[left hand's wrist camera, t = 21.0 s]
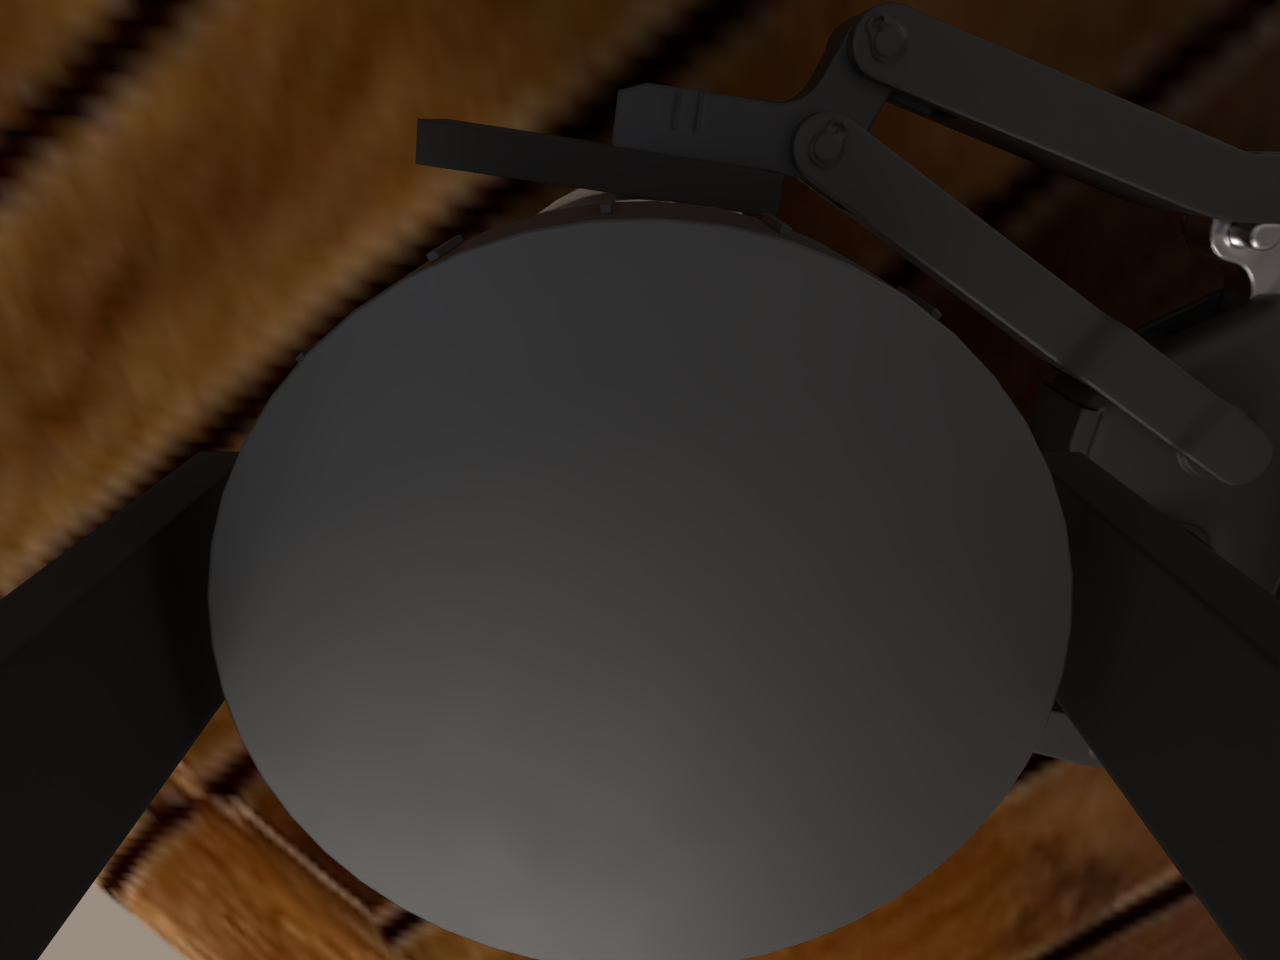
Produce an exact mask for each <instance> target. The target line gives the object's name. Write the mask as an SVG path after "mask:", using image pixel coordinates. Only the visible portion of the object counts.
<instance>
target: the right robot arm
mask: <svg viewBox="0 0 1280 960" xmlns="http://www.w3.org/2000/svg"><path fill="white" fill-rule="evenodd" d="M885 102H889V103H891V104H894V105H896V106H899V107H901V108H903V109H906V110H908V111H911V112H913V113H915V114H918V115H920V116H923V117H925V118H928V119H930V120H932V121H935V122H937V123H940V124H942V125H944V126H947V127H949V128H952V129H954V130H957V131H959V132H961V133H964V134H966V135H969V136H971V137H974V138H976V139H978V140H981V141H983V142H986V143H988V144H990V145H993V146H995V147H998V148H1000V149H1003V150H1005V151H1007V152H1010V153H1012V154H1015V155H1017V156H1019V157H1022V158H1024V159H1027V160H1029V161H1032V162H1034V163H1036V164H1039V165H1041V166H1044V167H1046V168H1049V169H1051V170H1053V171H1056V172H1058V173H1061V174H1063V175H1065V176H1068V177H1070V178H1073V179H1075V180H1078V181H1080V182H1082V183H1085V184H1087V185H1090V186H1092V187H1094V188H1097V189H1099V190H1102V191H1104V192H1107V193H1109V194H1111V195H1114V196H1116V197H1119V198H1121V199H1124V200H1126V201H1129V202H1132V203H1135V204H1138V205H1141V206H1145V207H1150V208H1155V209H1160V210H1165V211H1171V212H1177V213H1183V214H1184V215H1183V217H1182V220H1181V223H1180V229H1181V230H1182V232H1183V234H1184V235H1185V240H1186V243H1187V245H1188V246H1189V248H1190V249H1191V250H1192V251H1194V252H1195V253H1196V254H1199V255H1202V256H1206V257H1209V258H1212V259H1213V260H1215V261H1216V262H1217V263H1219V265H1220V266H1221V268H1222V270H1223V273H1224V278H1225V280H1224V288H1222V289H1219V290H1216V291H1214V292H1212V293H1209V294H1207V295H1205V296H1203V297H1201V298H1199V299H1197V300H1195V301H1193V302H1190V303H1188V304H1186V305H1184V306H1182V307H1180V308H1178V309H1176V310H1173V311H1171V312H1169V313H1167V314H1165V315H1163V316H1161V317H1159V318H1156V319H1154V320H1152V321H1150V322H1148V323H1146V324H1144V325H1142V326H1140V327H1137V328H1135V329H1133V330H1131V329H1129V328H1128V327H1126V326H1125V325H1123V324H1122V323H1120V322H1118V321H1117V320H1115V319H1113V318H1112V317H1110V316H1108V315H1107V314H1105V313H1104V312H1102V311H1101V310H1099V309H1098V308H1097V307H1095V306H1094V305H1093V304H1091V303H1090V302H1089V301H1087V300H1086V299H1085V298H1083V297H1082V296H1081V295H1080V294H1078V293H1077V292H1076V291H1074V290H1073V289H1072V288H1070V287H1069V286H1068V285H1067V284H1065V283H1064V282H1063V281H1061V280H1060V279H1059V278H1057V277H1056V276H1055V275H1054V274H1052V273H1051V272H1050V271H1048V270H1047V269H1046V268H1044V267H1043V266H1042V265H1040V264H1039V263H1038V262H1037V261H1035V260H1034V259H1033V258H1031V257H1030V256H1029V255H1027V254H1026V253H1025V252H1024V251H1022V250H1021V249H1020V248H1018V247H1017V246H1016V245H1014V244H1013V243H1012V242H1011V241H1009V240H1008V239H1007V238H1005V237H1004V236H1003V235H1001V234H1000V233H999V232H998V231H996V230H995V229H994V228H992V227H991V226H990V225H988V224H987V223H986V222H984V221H983V220H982V219H981V218H979V217H978V216H977V215H975V214H974V213H973V212H971V211H970V210H969V209H968V208H966V207H965V206H964V205H962V204H961V203H960V202H958V201H957V200H956V199H955V198H953V197H952V196H951V195H949V194H948V193H947V192H945V191H944V190H943V189H942V188H940V187H939V186H938V185H936V184H935V183H934V182H932V181H931V180H930V179H928V178H927V177H926V176H925V175H923V174H922V173H921V172H919V171H918V170H917V169H915V168H914V167H913V166H912V165H910V164H909V163H908V162H906V161H905V160H904V159H902V158H901V157H900V156H899V155H897V154H896V153H895V152H893V151H892V150H891V149H889V148H888V147H887V146H886V145H884V144H883V143H882V142H880V141H879V140H878V139H876V138H875V137H874V136H872V135H871V134H870V133H869V132H868V131H869V129H870V127H871V125H872V124H873V122H874V120H875V119H876V117H877V115H878V113H879V112H880V110H881V108H882V107H883V105H884V103H885ZM416 164H420V165H427V166H433V167H440V168H447V169H453V170H460V171H467V172H473V173H480V174H487V175H493V176H500V177H507V178H514V179H520V180H527V181H534V182H540V183H547V184H554V185H560V186H567V187H574V188H580V189H587V190H594V191H600V192H607V193H614V194H620V195H627V196H634V197H641V198H647V199H654V200H661V201H669V202H675V203H682V204H692V205H701V206H710V207H715V208H719V209H723V210H727V211H734V212H741V213H748V214H754V215H761V216H763V215H764V213H765V212H766V213H769V214H772V215H774V216H775V217H777V212H778V207H779V202H780V196H781V191H782V186H783V181H784V176H788V177H795V178H797V179H798V180H800V181H801V182H803V183H804V184H805V185H807V186H808V187H809V188H811V189H812V190H813V191H815V192H816V193H817V194H819V195H820V196H821V197H823V198H824V199H826V200H827V201H828V202H830V203H831V204H832V205H834V206H835V207H836V208H838V209H839V210H840V211H842V212H843V213H844V214H846V215H847V216H849V217H850V218H851V219H853V220H854V221H855V222H857V223H858V224H859V225H861V226H862V227H863V228H865V229H866V230H867V231H869V232H870V233H872V234H873V235H874V236H876V237H877V238H878V239H880V240H881V241H882V242H884V243H885V244H886V245H888V246H889V247H890V248H892V249H893V250H895V251H896V252H897V253H899V254H900V255H901V256H903V257H904V258H905V259H907V260H908V261H909V262H911V263H912V264H914V265H915V266H916V267H918V268H919V269H920V270H922V271H923V272H924V273H926V274H927V275H928V276H930V277H931V278H932V279H934V280H935V281H937V282H938V283H939V284H941V285H942V286H943V287H945V288H946V289H947V290H949V291H950V292H951V293H953V294H954V295H955V296H957V297H958V298H960V299H961V300H962V301H964V302H965V303H966V304H968V305H969V306H970V307H972V308H973V309H974V310H976V311H977V312H978V313H980V314H981V315H983V316H984V317H985V318H987V319H988V320H989V321H991V322H992V323H993V324H995V325H996V326H997V327H999V328H1000V329H1001V330H1003V331H1004V332H1006V333H1007V334H1008V335H1009V336H1011V338H1012V339H1014V340H1015V341H1016V342H1017V343H1019V344H1020V345H1021V346H1023V347H1024V348H1025V349H1027V350H1028V351H1029V352H1031V353H1032V354H1033V355H1035V356H1036V357H1038V358H1039V359H1040V360H1042V361H1043V362H1044V363H1046V364H1047V365H1048V366H1050V367H1051V368H1052V369H1054V370H1055V371H1056V372H1058V373H1059V374H1058V375H1057V376H1056V377H1055V379H1054V380H1053V382H1052V383H1046V382H1041V383H1040V386H1039V389H1038V392H1037V396H1036V399H1035V402H1034V405H1033V408H1032V411H1031V416H1030V430H1031V432H1032V434H1033V436H1034V438H1035V440H1036V443H1037V445H1038V447H1039V449H1040V451H1041V452H1081V453H1083V454H1084V455H1085V456H1087V457H1088V458H1089V459H1091V460H1092V461H1093V462H1095V463H1096V464H1098V465H1099V466H1100V467H1102V468H1103V469H1104V470H1106V471H1107V472H1108V473H1110V474H1111V475H1112V476H1114V477H1115V478H1116V479H1118V480H1119V481H1120V482H1122V483H1123V484H1124V485H1126V486H1127V487H1128V488H1130V489H1131V490H1132V491H1134V492H1135V493H1136V494H1138V495H1139V496H1140V497H1142V498H1143V499H1144V500H1146V501H1147V502H1148V503H1150V504H1151V505H1152V506H1154V507H1155V508H1156V509H1158V510H1159V511H1161V512H1162V513H1163V514H1165V515H1166V516H1167V517H1169V518H1170V519H1171V520H1173V521H1174V522H1175V523H1177V524H1178V525H1179V526H1181V527H1182V528H1183V529H1185V530H1186V531H1187V532H1189V533H1190V534H1191V535H1193V536H1194V537H1195V538H1197V539H1198V540H1199V541H1201V542H1202V543H1203V544H1205V545H1206V546H1207V547H1209V548H1210V549H1211V550H1213V551H1214V552H1215V553H1217V554H1218V555H1219V556H1221V557H1222V558H1224V559H1225V560H1226V561H1228V562H1229V563H1230V564H1232V565H1233V566H1234V567H1236V568H1237V569H1238V570H1240V571H1241V572H1242V573H1244V574H1245V575H1246V576H1248V577H1249V578H1250V579H1252V580H1253V581H1254V582H1256V583H1257V584H1258V585H1260V586H1261V587H1262V588H1264V589H1265V590H1266V591H1268V592H1269V593H1270V594H1272V595H1273V596H1274V597H1276V598H1277V599H1278V600H1280V151H1261V150H1241V149H1239V148H1236V147H1234V146H1232V145H1229V144H1227V143H1225V142H1222V141H1220V140H1218V139H1215V138H1213V137H1211V136H1208V135H1206V134H1204V133H1201V132H1199V131H1197V130H1194V129H1192V128H1190V127H1187V126H1185V125H1183V124H1180V123H1178V122H1176V121H1173V120H1171V119H1169V118H1167V117H1164V116H1162V115H1160V114H1157V113H1155V112H1153V111H1150V110H1148V109H1146V108H1143V107H1141V106H1139V105H1136V104H1134V103H1132V102H1129V101H1127V100H1125V99H1122V98H1120V97H1118V96H1115V95H1113V94H1111V93H1108V92H1106V91H1104V90H1101V89H1099V88H1097V87H1094V86H1092V85H1090V84H1087V83H1085V82H1083V81H1080V80H1078V79H1076V78H1073V77H1071V76H1069V75H1066V74H1064V73H1062V72H1059V71H1057V70H1055V69H1052V68H1050V67H1048V66H1045V65H1043V64H1041V63H1038V62H1036V61H1034V60H1032V59H1029V58H1027V57H1025V56H1022V55H1020V54H1018V53H1015V52H1013V51H1011V50H1008V49H1006V48H1004V47H1001V46H999V45H997V44H994V43H992V42H990V41H987V40H985V39H983V38H980V37H978V36H976V35H973V34H971V33H969V32H966V31H964V30H962V29H959V28H957V27H955V26H952V25H950V24H948V23H945V22H943V21H941V20H938V19H936V18H934V17H931V16H929V15H927V14H924V13H922V12H920V11H917V10H915V9H913V8H910V7H908V6H906V5H903V4H898V3H892V2H888V3H884V4H881V5H877V6H874V7H872V8H870V9H868V10H866V11H864V12H862V13H860V14H858V15H856V16H854V17H852V18H850V19H848V20H846V21H845V22H843V23H842V24H841V25H839V26H838V27H837V28H836V29H835V30H834V32H833V33H832V35H831V36H830V38H829V40H828V43H827V48H826V51H825V53H824V55H823V57H822V59H821V60H820V62H819V64H818V66H817V68H816V69H815V71H814V73H813V75H812V77H811V78H810V80H809V82H808V83H807V85H806V86H805V87H804V89H803V90H802V91H801V92H800V93H799V94H798V95H796V96H795V97H794V98H792V99H790V100H788V101H786V102H783V103H775V102H768V101H762V100H755V99H749V98H743V97H736V96H730V95H723V94H717V93H711V92H704V91H698V90H692V89H685V88H678V87H672V86H666V85H660V84H653V83H644V84H641V85H637V86H633V87H629V88H625V89H622V90H618V96H617V104H616V113H615V121H614V129H613V137H612V144H608V143H601V142H594V141H588V140H581V139H575V138H568V137H562V136H555V135H549V134H542V133H535V132H529V131H522V130H516V129H509V128H503V127H496V126H490V125H483V124H476V123H470V122H463V121H457V120H450V119H418V124H417V145H416ZM1033 752H1034V753H1038V754H1042V755H1046V756H1050V757H1054V758H1058V759H1062V760H1066V761H1070V762H1074V763H1078V764H1082V765H1086V766H1091V767H1095V768H1104V767H1103V765H1102V764H1101V763H1100V761H1099V760H1098V758H1097V757H1096V756H1095V754H1094V753H1093V751H1092V750H1091V749H1090V747H1089V746H1088V744H1087V743H1086V742H1085V740H1084V739H1083V738H1082V736H1081V735H1080V733H1079V732H1078V731H1077V729H1076V728H1075V726H1074V725H1073V724H1072V722H1071V721H1070V719H1069V718H1068V717H1067V715H1066V714H1065V713H1064V711H1063V710H1062V708H1061V707H1060V706H1059V704H1058V703H1057V701H1056V700H1055V702H1054V705H1053V708H1052V711H1051V714H1050V717H1049V720H1048V722H1047V724H1046V726H1045V728H1044V730H1043V732H1042V734H1041V736H1040V738H1039V740H1038V742H1037V744H1036V747H1035V749H1034V751H1033Z"/></svg>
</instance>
